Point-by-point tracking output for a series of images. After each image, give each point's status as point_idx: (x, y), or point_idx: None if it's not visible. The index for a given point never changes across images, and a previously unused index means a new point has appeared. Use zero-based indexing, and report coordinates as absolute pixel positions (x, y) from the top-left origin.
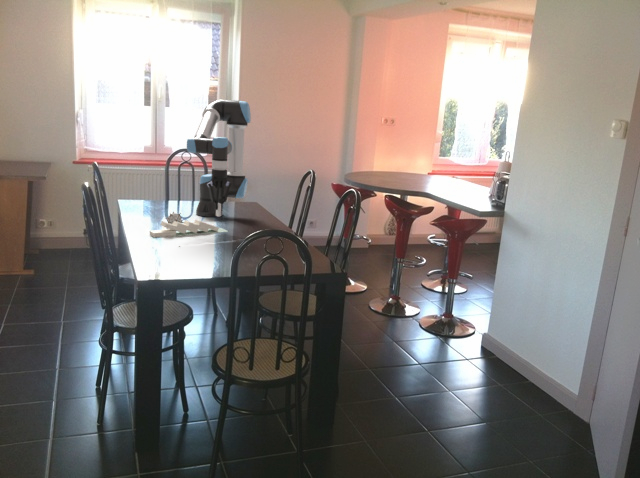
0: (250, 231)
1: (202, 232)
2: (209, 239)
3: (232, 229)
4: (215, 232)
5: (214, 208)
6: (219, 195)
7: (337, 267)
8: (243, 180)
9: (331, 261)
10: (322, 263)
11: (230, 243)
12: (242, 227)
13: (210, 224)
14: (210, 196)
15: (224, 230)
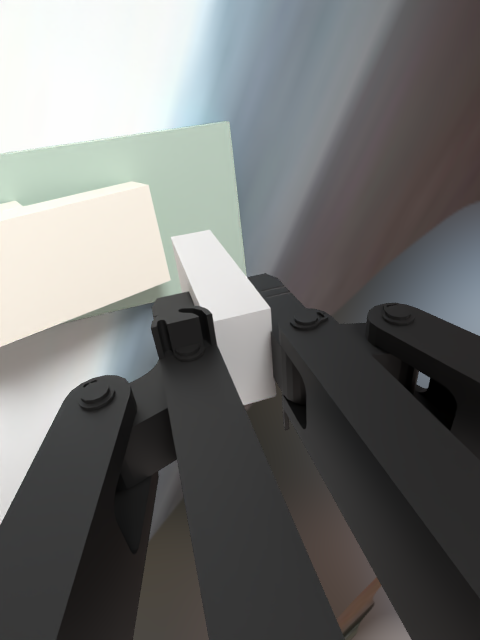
0: (406, 234)
1: None
2: (51, 421)
3: (327, 135)
4: (128, 302)
5: (152, 310)
6: (356, 463)
7: (351, 635)
8: None
9: (373, 605)
10: (341, 621)
11: (162, 488)
12: (440, 72)
13: (101, 205)
14: (14, 554)
15: (224, 241)
